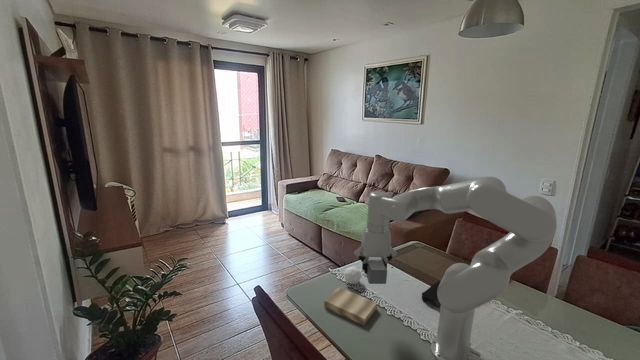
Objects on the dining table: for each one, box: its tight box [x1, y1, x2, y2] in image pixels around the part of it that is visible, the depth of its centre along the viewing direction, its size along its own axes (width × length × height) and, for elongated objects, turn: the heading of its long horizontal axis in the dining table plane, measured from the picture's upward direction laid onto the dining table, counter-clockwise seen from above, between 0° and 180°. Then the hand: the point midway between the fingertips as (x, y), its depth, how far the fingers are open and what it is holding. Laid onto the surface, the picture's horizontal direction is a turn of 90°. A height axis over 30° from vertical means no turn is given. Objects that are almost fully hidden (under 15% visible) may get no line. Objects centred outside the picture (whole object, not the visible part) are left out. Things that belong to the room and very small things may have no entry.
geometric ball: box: [343, 266, 362, 285], centre depth 133 cm, size 8×8×8 cm
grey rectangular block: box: [366, 257, 388, 285], centre depth 106 cm, size 6×12×6 cm, turn 1°
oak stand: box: [323, 287, 378, 326], centre depth 116 cm, size 18×11×3 cm, turn 55°
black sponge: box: [421, 280, 441, 308], centre depth 123 cm, size 16×8×4 cm, turn 131°
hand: (374, 271), depth 106 cm, fingers closed on grey rectangular block, 6 cm apart
